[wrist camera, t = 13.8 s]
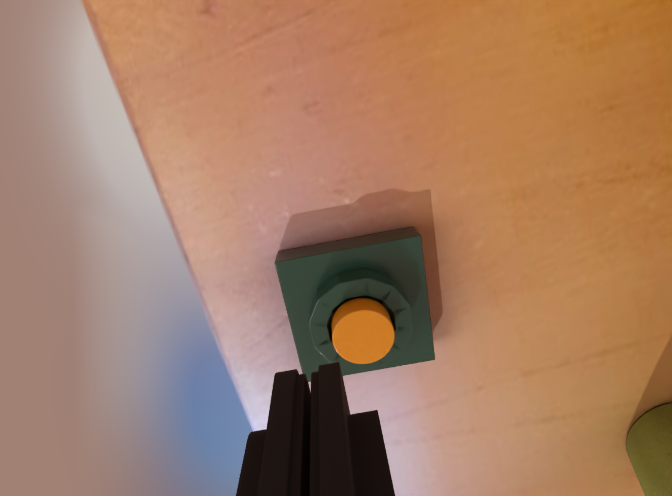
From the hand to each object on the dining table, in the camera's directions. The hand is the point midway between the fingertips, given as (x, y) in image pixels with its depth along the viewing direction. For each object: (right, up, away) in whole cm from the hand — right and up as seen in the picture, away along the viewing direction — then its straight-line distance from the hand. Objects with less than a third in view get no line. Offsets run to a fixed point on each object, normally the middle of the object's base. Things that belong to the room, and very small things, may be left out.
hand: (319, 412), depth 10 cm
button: (+2, -1, +16) cm, 17 cm away
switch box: (+2, 0, +20) cm, 20 cm away
